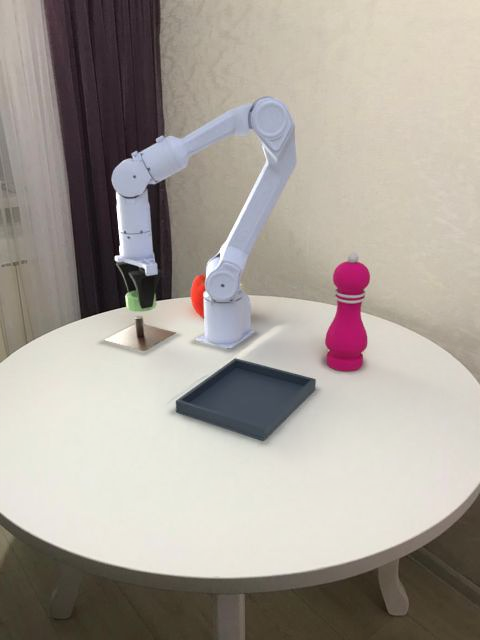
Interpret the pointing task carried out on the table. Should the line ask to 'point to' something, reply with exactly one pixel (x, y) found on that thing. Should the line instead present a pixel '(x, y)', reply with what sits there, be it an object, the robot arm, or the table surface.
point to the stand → (140, 336)
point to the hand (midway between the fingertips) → (141, 302)
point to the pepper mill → (348, 316)
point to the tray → (247, 398)
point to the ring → (136, 302)
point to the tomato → (198, 294)
